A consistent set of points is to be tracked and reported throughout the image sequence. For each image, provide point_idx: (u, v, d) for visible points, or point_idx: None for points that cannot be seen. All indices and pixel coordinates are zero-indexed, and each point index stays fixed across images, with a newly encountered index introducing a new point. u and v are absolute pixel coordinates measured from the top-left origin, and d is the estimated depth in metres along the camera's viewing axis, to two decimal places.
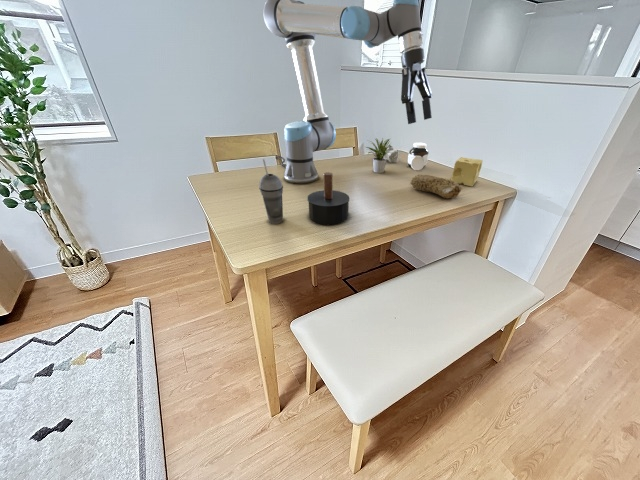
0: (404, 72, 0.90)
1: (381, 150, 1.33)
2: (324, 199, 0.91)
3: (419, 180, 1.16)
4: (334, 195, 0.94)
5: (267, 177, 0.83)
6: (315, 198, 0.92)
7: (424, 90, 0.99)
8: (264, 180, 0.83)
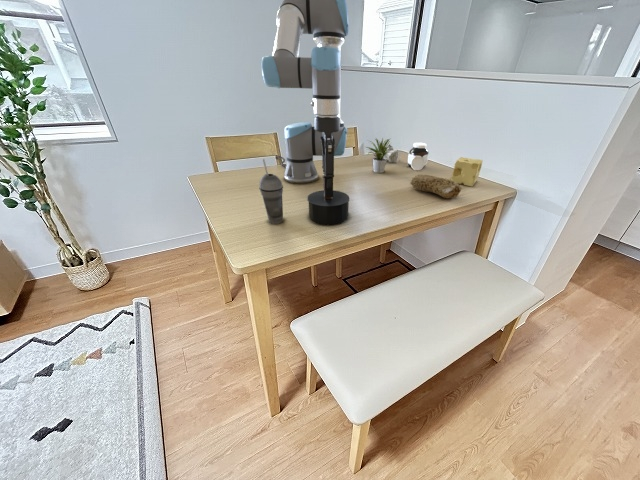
0: None
1: (381, 150, 1.33)
2: (324, 199, 0.91)
3: (419, 180, 1.16)
4: (334, 195, 0.94)
5: (267, 177, 0.83)
6: (315, 198, 0.92)
7: None
8: (264, 180, 0.83)
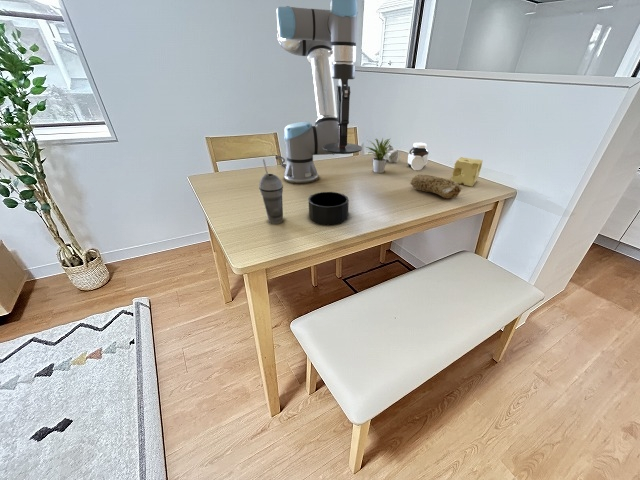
0: None
1: (381, 150, 1.33)
2: (338, 148, 0.98)
3: (419, 180, 1.16)
4: (347, 145, 1.01)
5: (267, 177, 0.83)
6: (330, 147, 0.99)
7: None
8: (264, 180, 0.83)
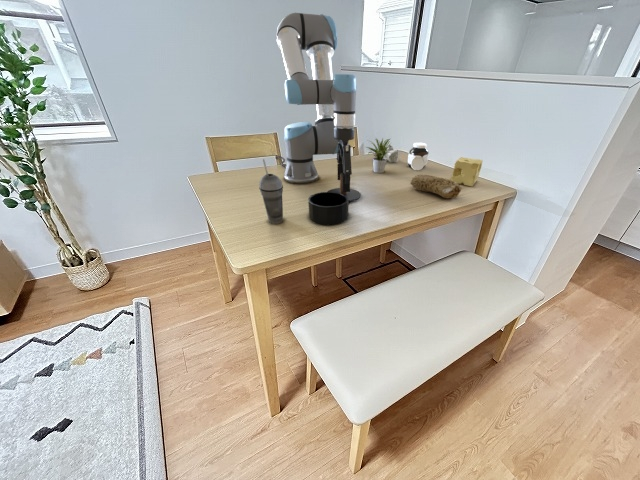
0: None
1: (381, 150, 1.33)
2: None
3: (419, 180, 1.16)
4: (348, 192, 1.13)
5: (267, 177, 0.83)
6: None
7: None
8: (264, 180, 0.83)
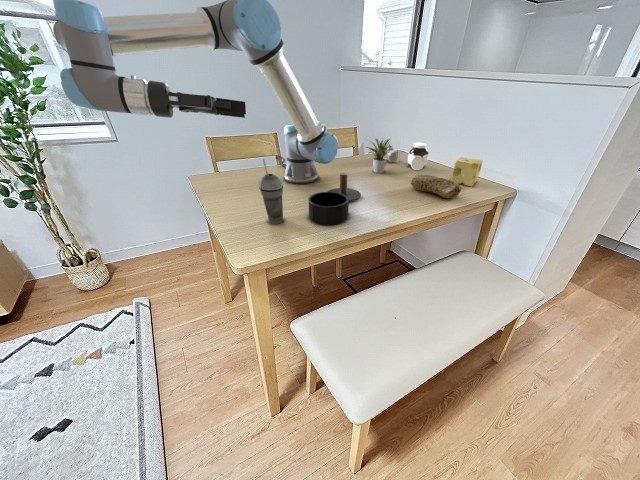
0: (174, 100, 0.63)
1: (381, 150, 1.33)
2: None
3: (419, 180, 1.16)
4: (348, 192, 1.13)
5: (267, 177, 0.83)
6: None
7: None
8: (264, 180, 0.83)
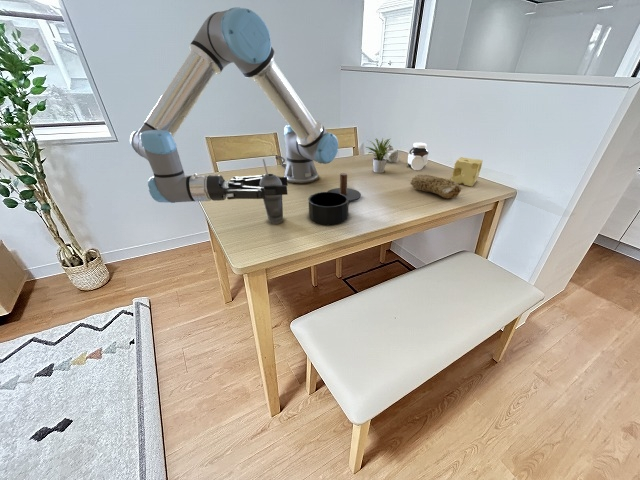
0: (231, 196, 0.79)
1: (381, 150, 1.33)
2: None
3: (419, 180, 1.16)
4: (348, 192, 1.13)
5: (267, 177, 0.83)
6: None
7: (254, 181, 0.87)
8: (264, 180, 0.83)
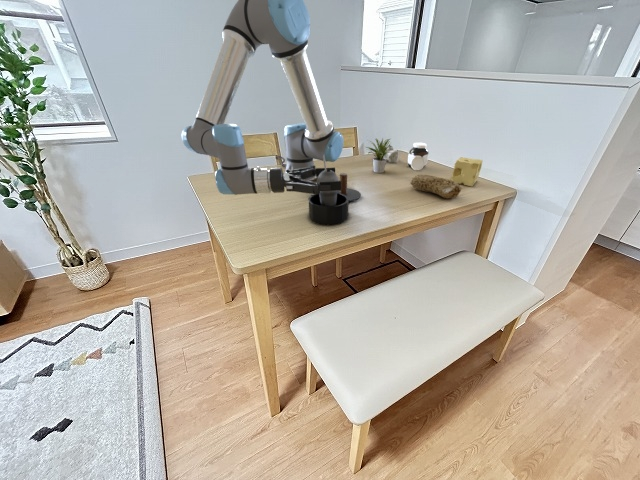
0: (290, 188, 0.82)
1: (381, 150, 1.33)
2: None
3: (419, 180, 1.16)
4: (348, 192, 1.13)
5: (326, 173, 0.86)
6: None
7: (307, 172, 0.92)
8: (323, 175, 0.86)
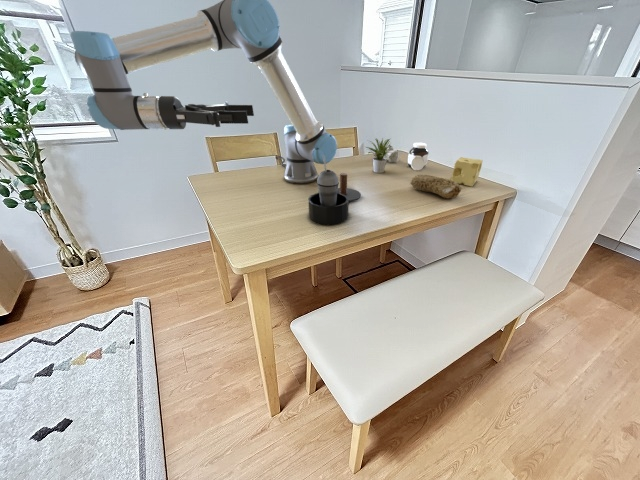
0: (181, 118, 0.66)
1: (381, 150, 1.33)
2: None
3: (419, 180, 1.16)
4: (348, 192, 1.13)
5: (326, 173, 0.86)
6: None
7: (216, 108, 0.76)
8: (323, 175, 0.86)
